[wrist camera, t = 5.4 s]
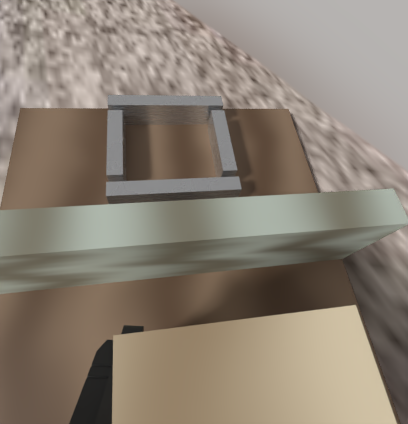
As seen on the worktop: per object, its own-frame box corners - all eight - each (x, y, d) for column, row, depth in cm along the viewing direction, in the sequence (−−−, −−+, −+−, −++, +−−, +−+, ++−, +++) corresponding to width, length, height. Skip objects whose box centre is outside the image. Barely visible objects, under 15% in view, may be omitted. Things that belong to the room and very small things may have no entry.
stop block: (227, 336, 16) (356, 304, 5) (242, 433, 14) (486, 682, 3) (148, 347, 15) (113, 335, 5) (151, 451, 13) (105, 845, 3)
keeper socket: (216, 115, 24) (221, 96, 22) (234, 203, 20) (241, 189, 18) (112, 115, 22) (108, 95, 20) (111, 210, 19) (105, 196, 17)
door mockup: (284, 117, 26) (321, 43, 20) (409, 481, 15) (584, 574, 9) (26, 118, 22) (-27, 27, 16) (-67, 610, 11) (-359, 940, 5)
